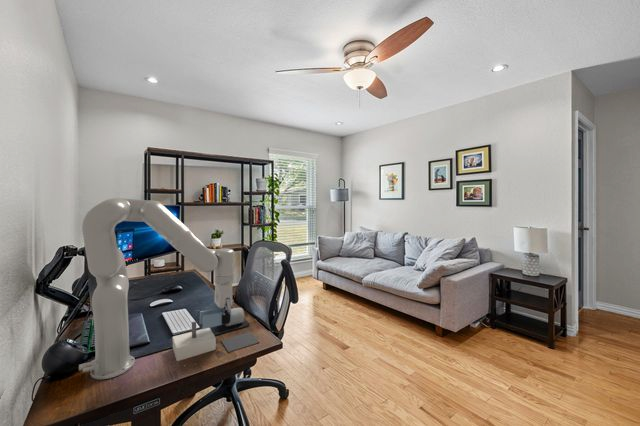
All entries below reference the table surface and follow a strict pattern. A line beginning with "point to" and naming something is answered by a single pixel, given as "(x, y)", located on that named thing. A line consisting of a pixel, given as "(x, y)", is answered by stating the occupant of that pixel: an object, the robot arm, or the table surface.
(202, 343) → the stand
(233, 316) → the white cylinder
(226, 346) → the coaster
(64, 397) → the table surface
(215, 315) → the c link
